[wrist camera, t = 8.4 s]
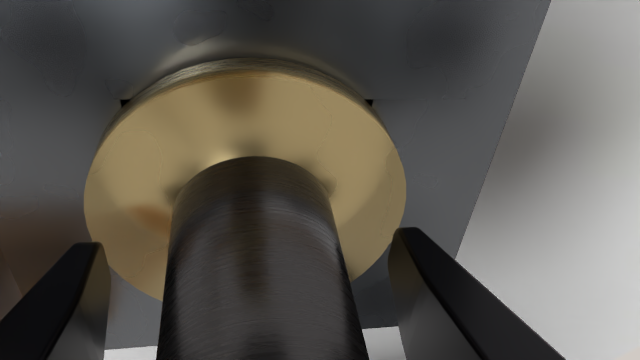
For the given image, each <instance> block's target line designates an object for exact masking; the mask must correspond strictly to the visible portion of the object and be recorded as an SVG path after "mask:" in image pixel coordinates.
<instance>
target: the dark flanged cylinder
mask: <svg viewBox="0 0 640 360" xmlns="http://www.w3.org/2000/svg"><path fill="white" fill-rule="evenodd" d="M405 202H406V180H405V174H404V168H403V165H402V163H401V160H400V157H399V154H398V152H397V150H396V148H395V145H394V143H393V141H392V139H391V137H390V134H389V132H388V130H387V129H386V127H385V125H384V123H383V122H382V120H381V118H380V117H379V115H378V114H377V113H376V112H375V110H374V109H373V108H372V107H371V105H370V104H369V103H368V102H367V101H366V100H364V99H363V98H362V97H361V96H360V95H359V94H358V93H357V92H356V91H354V90H353V89H351V88H350V87H348V86H347V85H345V84H344V83H342V82H341V81H339V80H338V79H336V78H334V77H332V76H329V75H327V74H325V73H323V72H321V71H319V70H316V69H313V68H310V67H307V66H304V65H301V64H298V63H293V62H288V61H283V60H278V59H267V58H253V57H250V58H229V59H222V60H216V61H210V62H205V63H201V64H198V65H194V66H191V67H188V68H184V69H181V70H179V71H177V72H174V73H172V74H170V75H168V76H165V77H163V78H161V79H159V80H158V81H156V82H154V83H153V84H151V85H149V86H148V87H146V88H145V89H143V90H141V91H140V92H139V93H138V94H137V95H135V96H134V97H133V98H132V99H131V100H129V101H128V102H127V103H126V104H125V105H124V106H123V107H122V108H121V109H120V111H119V112H118V113H117V114H116V115H115V116H114V117H113V119H112V120H111V121H110V123H109V125H108V126H107V128H106V130H105V131H104V133H103V134H102V136H101V139H100V141H99V144H98V146H97V149H96V151H95V154H94V157H93V160H92V164H91V167H90V170H89V173H88V176H87V180H86V185H85V190H84V214H85V219H86V224H87V228H88V231H89V233H90V236H91V238H92V241H98V242H100V243H102V245H103V247H104V250H105V254H106V258H107V262H108V264H109V266H110V267H111V268H112V269H113V270H114V271H115V272H116V273H117V274H119V275H120V276H121V277H122V278H123V279H124V280H126V281H127V282H128V283H130V284H131V285H133V286H134V287H135V288H137V289H139V290H140V291H142V292H144V293H146V294H148V295H149V296H151V297H153V298H156V299H158V300H160V301H163V302H162V311H161V320H160V329H159V339H158V348H157V357H156V360H369V357H368V353H367V349H366V345H365V341H364V337H363V332H362V328H361V324H360V320H359V316H358V312H357V308H356V304H355V300H354V296H353V292H352V288H351V284H350V283H351V282H352V281H353V280H355V279H356V278H358V277H359V276H360V275H362V274H363V273H364V272H365V271H366V270H367V269H368V268H369V267H371V266H372V265H373V264H374V263H375V262H376V260H377V259H378V258H379V257H380V256H381V255H382V254H383V253H384V251H385V250H386V248H387V247H388V245H389V244H390V243H391V241H392V239H393V235H394V232H395V230H396V229H397V228H399V225H400V222H401V219H402V216H403V213H404V208H405Z"/></svg>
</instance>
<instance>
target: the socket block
mask: <svg viewBox="0 0 640 360" xmlns="http://www.w3.org/2000/svg"><path fill="white" fill-rule="evenodd" d="M550 2H551V0H0V248H1V251H2V253H3V255H4V257H5V260H6V262H7V264H8V266H9V268H10V271H11V273H12V275H13V277H14V279H15V282H16V284H17V286H18V288H19V291H20V293H21V295H22V297H23V296H24V295H25V294H26V293H27V292H28V291H29V290H30V289H31V288H32V287H33V286H34V285H35V284H36V283H37V282H38V281H39V279H40V278H41V277H42V276H43V275H44V274H45V273H46V272H47V271H48V270H49V269H50V268H51V267H52V266H53V265H54V264H55V263H56V262H57V261H58V260H59V258H60V257H61V256H62V255H63V254H64V253H65V252H66V251H67V250H68V249H69V248H70V247H71V246H72V245H73V244H75V243H77V242H93V241H92V238H91V236H90V233H89V231H88V228H87V224H86V219H85V214H84V190H85V185H86V180H87V176H88V173H89V170H90V167H91V164H92V160H93V157H94V154H95V151H96V149H97V146H98V144H99V141H100V139H101V136H102V134H103V133H104V131H105V130H106V128H107V126H108V125H109V123H110V121H111V120H112V119H113V117H114V116H115V115H116V114H117V113H118V112H119V111H120V109H121V108H122V107H123V106H124V105H125V104H126V103H127V102H128V101H129V100H131V99H132V98H133V97H134V96H135V95H137V94H138V93H139V92H140V91H141V90H143V89H145V88H146V87H148V86H149V85H151V84H153V83H154V82H156V81H158V80H159V79H161V78H163V77H165V76H168V75H170V74H172V73H174V72H177V71H179V70H181V69H184V68H188V67H191V66H194V65H198V64H201V63H205V62H210V61H216V60H222V59H229V58H250V57H253V58H267V59H278V60H283V61H288V62H293V63H298V64H301V65H304V66H307V67H310V68H313V69H316V70H319V71H321V72H323V73H325V74H327V75H329V76H332V77H334V78H336V79H338V80H339V81H341V82H342V83H344V84H345V85H347V86H348V87H350V88H351V89H353V90H354V91H356V92H357V93H358V94H359V95H360V96H361V97H362V98H363V99H364V100H366V101H367V102H368V103H369V104H370V105H371V107H372V108H373V109H374V110H375V112H376V113H377V114H378V115H379V117H380V118H381V120H382V122H383V123H384V125H385V127H386V129H387V130H388V132H389V134H390V137H391V139H392V141H393V143H394V145H395V148H396V150H397V152H398V154H399V157H400V160H401V163H402V165H403V168H404V174H405V180H406V202H405V208H404V213H403V216H402V219H401V222H400V225H399V227H417V228H419V229H421V230H422V231H423V232H424V233H425V234H426V235H428V236H429V237H430V238H431V239H432V240H433V241H434V242H435V243H437V244H438V245H439V246H440V247H441V248H442V249H443V250H444V251H445V252H447V253H448V254H449V255H450V256H451V257H452V258H453V259H454V260H455V257H456V255H457V252H458V249H459V247H460V244H461V241H462V239H463V236H464V233H465V231H466V228H467V225H468V222H469V220H470V217H471V214H472V212H473V209H474V206H475V204H476V201H477V198H478V196H479V193H480V190H481V188H482V185H483V182H484V179H485V177H486V174H487V171H488V169H489V166H490V163H491V161H492V158H493V155H494V153H495V150H496V147H497V145H498V142H499V139H500V137H501V134H502V131H503V128H504V126H505V123H506V120H507V118H508V115H509V112H510V110H511V107H512V104H513V102H514V99H515V96H516V94H517V91H518V88H519V85H520V83H521V80H522V77H523V75H524V72H525V69H526V67H527V64H528V61H529V59H530V56H531V53H532V51H533V48H534V45H535V43H536V40H537V37H538V34H539V32H540V29H541V26H542V24H543V21H544V18H545V16H546V13H547V10H548V8H549V5H550ZM391 243H392V241H391ZM391 243H390V244H389V245H388V247H387V248H386V250H385V251H384V253H383V254H382V255H381V256H380V257H379V258H378V259H377V260H376V262H375V263H374V264H373V265H372V266H371V267H369V268H368V269H367V270H366V271H365V272H364V273H363V274H362V275H360V276H359V277H358V278H356V279H355V280H353V281H352V282H351V283H350V284H351V288H352V292H353V296H354V300H355V304H356V308H357V312H358V316H359V320H360V324H361V328H362V329H368V328H381V327H393V326H399V325H398V320H397V315H396V309H395V304H394V299H393V294H392V289H391V283H390V278H389V273H388V266H387V261H388V255H389V251H390V247H391ZM108 265H109V264H108ZM109 269H110V273H111V292H110V302H109V311H108V321H107V330H106V340H105V350H109V349H121V348H133V347H146V346H158V339H159V329H160V320H161V311H162V302H163V301H160V300H158V299H156V298H153V297H151V296H149V295H148V294H146V293H144V292H142V291H140V290H139V289H137V288H135V287H134V286H133V285H131V284H130V283H128V282H127V281H126V280H124V279H123V278H122V277H121V276H120V275H119V274H117V273H116V272H115V271H114V270H113V269H112V268H111V267H110V266H109Z"/></svg>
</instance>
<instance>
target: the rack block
mask: <svg viewBox="0 0 640 360" xmlns="http://www.w3.org/2000/svg"><path fill="white" fill-rule="evenodd" d="M21 298H22V295H21V293H20V291H19V288H18V286H17V284H16V282H15V279H14V277H13V275H12V273H11V271H10V268H9V266H8V264H7V262H6V260H5V257H4V255H3V253H2V251H1V248H0V320H1V319H2V318H3V317H4V316H5V315H6V314H7V313H8V312H9V311H10V310H11V309H12V308H13V307H14V306H15V305H16V304H17V303H18V301H19V300H20V299H21Z"/></svg>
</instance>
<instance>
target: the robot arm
mask: <svg viewBox="0 0 640 360" xmlns="http://www.w3.org/2000/svg"><path fill="white" fill-rule="evenodd" d="M387 266H388V273H389V278H390V283H391V289H392V294H393V299H394V304H395V309H396V315H397V320H398V325H399V330H400V335H401V340H402V344H403V348H404V351H405V355H406V358H407V360H566V359H565V358H564V357H563V356H562V355H560V354H559V353H558V352H557V351H556V350H555V349H554V348H553V347H552V346H550V345H549V344H548V343H547V342H546V341H545V340H544V339H543V338H541V337H540V336H539V335H538V334H537V333H536V332H535V331H534V330H533V329H531V328H530V327H529V326H528V325H527V324H526V323H525V322H524V321H523V320H521V319H520V318H519V317H518V316H517V315H516V314H515V313H514V312H512V311H511V310H510V309H509V308H508V307H507V306H506V305H505V304H504V303H502V302H501V301H500V300H499V299H498V298H497V297H496V296H495V295H493V294H492V293H491V292H490V291H489V290H488V289H487V288H486V287H485V286H483V285H482V284H481V283H480V282H479V281H478V280H477V279H476V278H474V277H473V276H472V275H471V274H470V273H469V272H468V271H467V270H466V269H464V268H463V267H462V266H461V265H460V264H459V263H458V262H457V261H455V260H454V259H453V258H452V257H451V256H450V255H449V254H448V253H447V252H445V251H444V250H443V249H442V248H441V247H440V246H439V245H438V244H437V243H435V242H434V241H433V240H432V239H431V238H430V237H429V236H428V235H426V234H425V233H424V232H423V231H422V230H421V229H419V228H417V227H399V228H397V229H396V230H395V232H394V235H393V239H392V243H391V247H390V251H389V255H388V261H387ZM110 292H111V273H110V269H109V265H108V262H107V258H106V254H105V250H104V247H103V245H102V243H100V242H98V241H93V242H77V243H75V244H73V245H72V246H71V247H70V248H69V249H68V250H67V251H66V252H65V253H64V254H63V255H62V256H61V257H60V258H59V260H58V261H57V262H56V263H55V264H54V265H53V266H52V267H51V268H50V269H49V270H48V271H47V272H46V273H45V274H44V275H43V276H42V277H41V278H40V279H39V281H38V282H37V283H36V284H35V285H34V286H33V287H32V288H31V289H30V290H29V291H28V292H27V293H26V294H25V295H24V296H23V297H22V298H21V299H20V300H19V301H18V303H17V304H16V305H15V306H14V307H13V308H12V309H11V310H10V311H9V312H8V313H7V314H6V315H5V316H4V317H3V318H2V319H1V320H0V360H103V358H104V350H105V340H106V330H107V321H108V311H109V302H110Z"/></svg>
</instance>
